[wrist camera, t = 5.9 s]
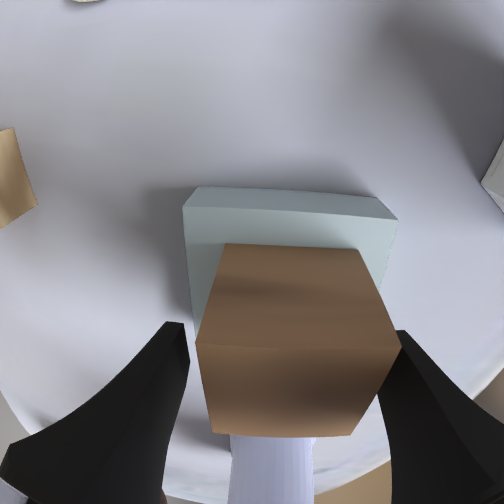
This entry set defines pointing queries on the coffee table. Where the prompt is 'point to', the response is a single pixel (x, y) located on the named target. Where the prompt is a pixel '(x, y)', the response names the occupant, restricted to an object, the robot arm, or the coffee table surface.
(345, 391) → the walnut cube
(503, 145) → the small box
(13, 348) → the coffee table surface
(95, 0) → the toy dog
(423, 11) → the coffee table surface
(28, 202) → the oak cube
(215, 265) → the slab
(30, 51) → the coffee table surface
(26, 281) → the coffee table surface
